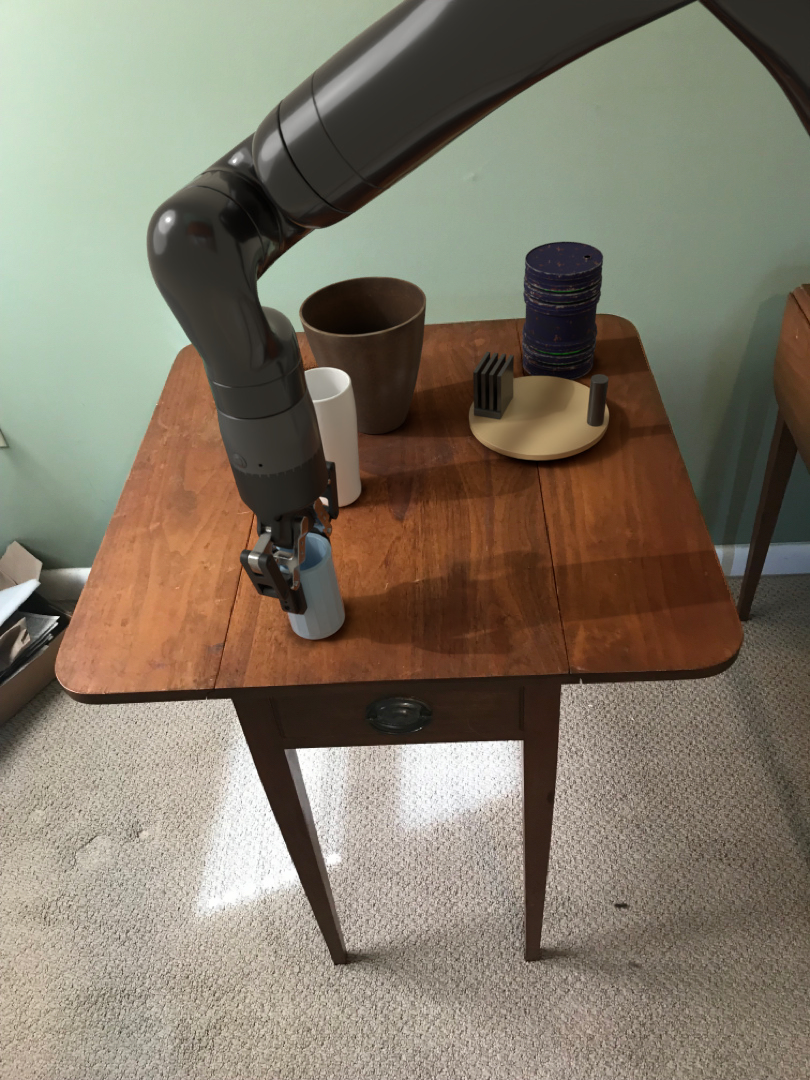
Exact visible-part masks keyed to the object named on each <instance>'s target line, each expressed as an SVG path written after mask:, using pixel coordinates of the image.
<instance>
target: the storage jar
mask: <svg viewBox="0 0 810 1080" xmlns="http://www.w3.org/2000/svg"><path fill="white" fill-rule="evenodd" d="M603 265H604V253H603V252H602V251H601V250H600V249H598V248H597V247H595V246H593V245H591V244H587V243H584V242H578V241H553V242H548V243H543V244H540V245H538V246H536V247H534V248H532V249H530V250H529V251H528V252H527V253H526V255H525V258H524V267H525V268H524V276H523V293H522V295H523V301H524V304H525V320H524V321H525V322H524V323H523V326H522V331H521V335H522V338H521V339H522V340H521V344H522V345H521V347H522V367H523V369H524V370H525V372H527V373H528V374H529V375H530V376H551V377H559V378H564V379H568V380H572V381H574V380H577V379H580V378H582V377H583V376H585V375H587V374H588V373H590V371H591V370H592V369H593V366H594V356H595V351H596V347H597V336H598V326H597V322H596V321H597V320H596V319H597V309H598V304H599V302H600V300H601V299H600V298H601V297H602V291H601V290H602V285H603Z"/></svg>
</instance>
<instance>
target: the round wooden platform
mask: <svg viewBox="0 0 810 1080" xmlns="http://www.w3.org/2000/svg"><path fill="white" fill-rule="evenodd" d="M514 361H515V355H514V354H509V355H508V357H507V354H506V353H501V355H500V356H499V353H498V352H493V354H492V355H491V351H486V352H485V353H484V355H482V357H481V360H480V361H479V362H478V364H477V366H476V367H475V369H474V370H473V371H472V383H473V386H472V387H473V401H472V403H471V405H470V408H469V411H468V423H469V428H470V431H471V433H472V434H473V436H474V437H475V438H476V439H477V441H479V442H480V443H481V444H482V445H484V446H485V447H487V448H488V449H490V450H491V451H494V452H496V453H497V454H500V455H503V456H505V455H506V456H505V457H508V456H510V457H514V458H519V459H526V460H552V459H559V458H563V459H566V458H565V457H567V458H569V457H568V456H570V457H572V456H575V455H578V454H580V453H582V452H584V451H586V450H589V449H590V448H592V447H593V446H595V445H596V444H597V443H598V442H600V440H601V439H602V438H603V437H604V436H605V434H606V432H607V429H608V427H609V421H610V411H609V408H608V405H607V398H608V397H607V396H608V395H607V394H608V388H609V377H608V376H607V375H605V374H601V373H599V374H593V375H592V376H591V377H590V380H589V381H590V382H589V387H588V386H587V385H584V384H582V383H580V382H577V381H575V380H568V379H564V378H559V377H551V376H532V375H529V376H519V377H514V370H515V369H514V367H515V365H514V364H515V362H514ZM510 457H509V458H510ZM514 458H513V459H514ZM559 460H560V459H559Z"/></svg>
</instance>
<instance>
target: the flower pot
mask: <svg viewBox="0 0 810 1080" xmlns="http://www.w3.org/2000/svg"><path fill="white" fill-rule="evenodd" d="M426 310H427V297H426V294H425V292H424V291H423V289H422V288H420V287H419V286H418V285H417V284H415V283H413V282H411V281H408V280H405V279H401V278H397V277H391V276H390V277H389V276H376V275H375V276H361V277H354V278H348V279H344V280H340V281H336V282H334V283H330V284H328V285H325V286H323V287H321V288H319V289H317V290H316V291H314V292H313V293H311V294H310V295H309V296H307V297H306V298H305V299H304V300H303V302H302V303H301V305H300V306H299V310H298V317H299V319H300V322H301V326H302V328H303V332H304V335H305V337H306V340H307V342H308V345H309V346H308V347H309V348H310V351H311V353H312V356H313V358H314V361H315V363H316V366H317V368H323V367H328V368H336V369H339V370H342V371H344V372H345V373H347V374H348V375H349V377H350V379H351V383H352V388H353V393H354V398H355V405H356V414H357V431H358V432H359V433H362V434H366V435H382V434H387V433H389V432H392V431H395V430H397V429H398V428H399V427H401V426H402V425H403V424H404V422H405V421H406V419H407V417H408V414H409V410H410V406H411V404H412V400H413V396H414V393H415V389H416V385H417V380H418V376H419V371H420V367H421V359H422V354H423V353H422V352H423V345H424V336H425V326H426V325H425V324H426V323H425V322H426Z"/></svg>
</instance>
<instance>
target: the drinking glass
mask: <svg viewBox="0 0 810 1080" xmlns="http://www.w3.org/2000/svg"><path fill="white" fill-rule="evenodd" d="M304 372H305V376H306V381H307V386H308V390H309V393H310V395H311V398H312V401H313V403H314V406H315V410H316V415H317V420H318V425H319V430H320V435H321V440H322V445H323V450H324V455H325V460H326V461H331V462H334V463H335V466H336V479H337V491H338V504H339V508H341V507H347V506H349V505H351V504H352V503H355V501H357V500H358V498H359V497H360V495H361V493H362V481H361V473H360V471H361V470H360V455H359V435H358V434H359V433H358V432H359V431H357V414H356V405H355V398H354V393H353V388H352V383H351V379H350V377H349V375H348V374H347V373H345V372H344V371H342V370H339V369H336V368H328V367H323V368H319V367H315V368H311V369H308V370H304ZM319 498H320V500H321V501H322V505H326V506H328V500H327V499H326V498H324V497H319Z"/></svg>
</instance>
